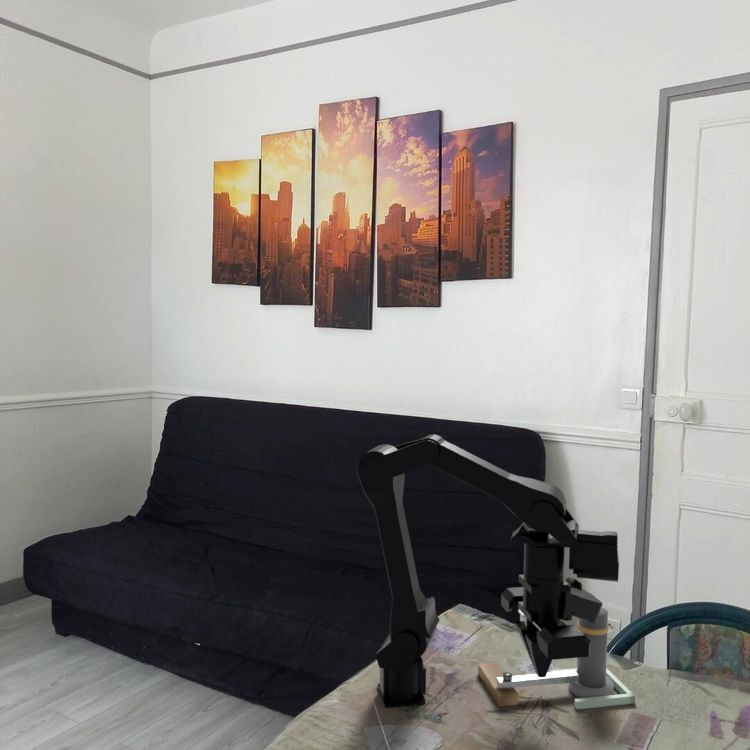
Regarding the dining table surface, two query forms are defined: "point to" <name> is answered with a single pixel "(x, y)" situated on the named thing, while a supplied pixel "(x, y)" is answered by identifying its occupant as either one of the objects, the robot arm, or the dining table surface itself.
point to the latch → (535, 679)
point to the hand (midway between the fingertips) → (541, 676)
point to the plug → (593, 660)
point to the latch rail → (500, 695)
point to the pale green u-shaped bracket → (603, 701)
